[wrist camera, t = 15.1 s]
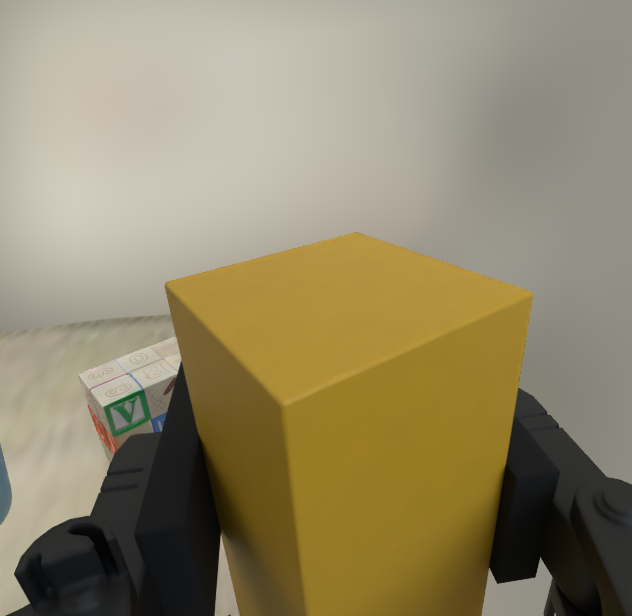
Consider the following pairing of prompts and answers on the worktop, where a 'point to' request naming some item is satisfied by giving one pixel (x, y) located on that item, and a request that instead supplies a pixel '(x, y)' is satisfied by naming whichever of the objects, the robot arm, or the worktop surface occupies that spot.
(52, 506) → the worktop surface
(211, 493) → the robot arm
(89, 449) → the worktop surface
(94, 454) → the worktop surface
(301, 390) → the bar
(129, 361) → the stack of blocks
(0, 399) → the worktop surface
